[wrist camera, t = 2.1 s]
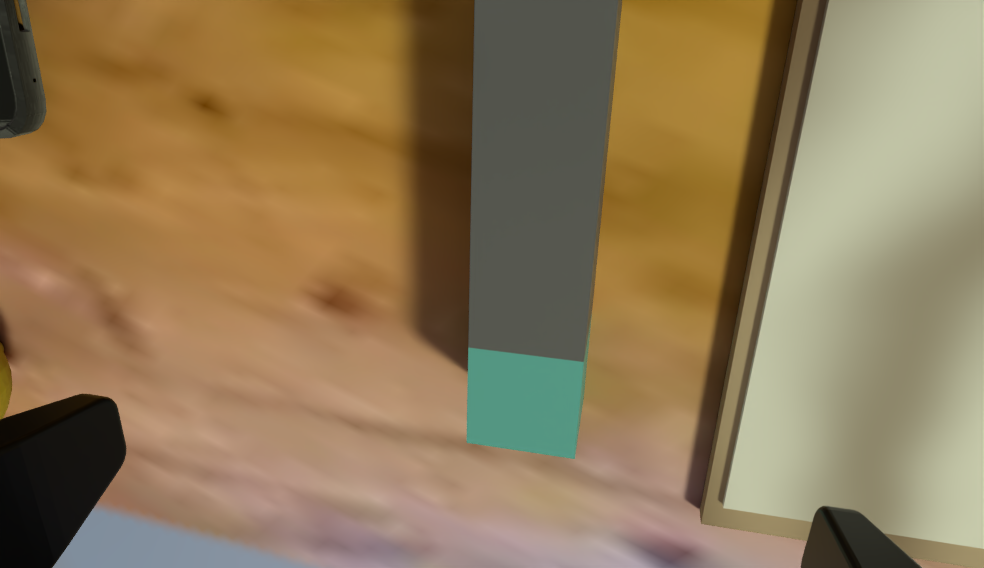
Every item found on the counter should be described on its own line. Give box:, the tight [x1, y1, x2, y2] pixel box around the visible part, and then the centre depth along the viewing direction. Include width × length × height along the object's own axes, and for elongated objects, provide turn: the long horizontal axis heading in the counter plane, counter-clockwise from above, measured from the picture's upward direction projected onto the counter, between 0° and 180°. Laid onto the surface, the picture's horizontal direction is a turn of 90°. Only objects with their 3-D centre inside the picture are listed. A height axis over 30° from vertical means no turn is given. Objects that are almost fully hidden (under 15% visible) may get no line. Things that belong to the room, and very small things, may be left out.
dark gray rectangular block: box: [467, 0, 622, 459], centre depth 18 cm, size 3×12×3 cm, turn 179°
